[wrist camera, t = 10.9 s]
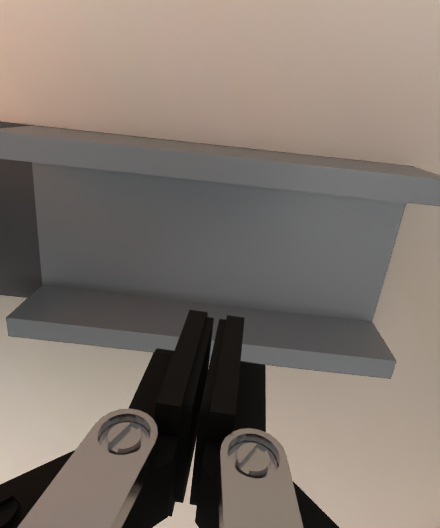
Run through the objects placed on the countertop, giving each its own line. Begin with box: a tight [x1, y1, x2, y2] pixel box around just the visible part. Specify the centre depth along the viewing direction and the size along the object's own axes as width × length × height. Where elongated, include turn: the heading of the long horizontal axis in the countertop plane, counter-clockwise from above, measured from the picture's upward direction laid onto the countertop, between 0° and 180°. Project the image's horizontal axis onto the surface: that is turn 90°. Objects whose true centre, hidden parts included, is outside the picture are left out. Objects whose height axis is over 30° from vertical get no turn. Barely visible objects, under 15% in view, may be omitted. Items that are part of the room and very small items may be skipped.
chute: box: [0, 126, 440, 379], centre depth 18 cm, size 18×9×4 cm, turn 84°
